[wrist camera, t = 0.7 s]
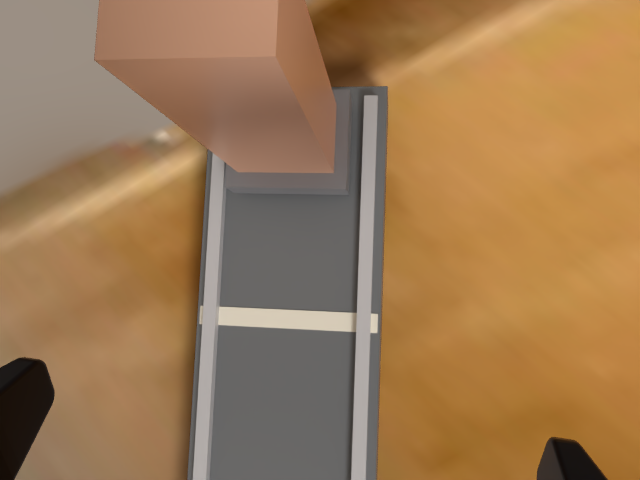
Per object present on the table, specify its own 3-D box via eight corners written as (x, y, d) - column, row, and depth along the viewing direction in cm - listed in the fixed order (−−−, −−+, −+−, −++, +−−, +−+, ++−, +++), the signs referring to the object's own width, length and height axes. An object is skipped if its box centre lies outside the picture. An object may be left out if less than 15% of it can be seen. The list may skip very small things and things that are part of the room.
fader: (348, 194, 20) (299, 85, 10) (234, 193, 21) (69, 88, 10) (352, 101, 21) (308, -104, 10) (239, 102, 21) (85, -91, 11)
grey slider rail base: (373, 609, 21) (370, 650, 18) (198, 588, 22) (174, 624, 19) (387, 104, 23) (387, 82, 20) (226, 105, 24) (208, 84, 21)
